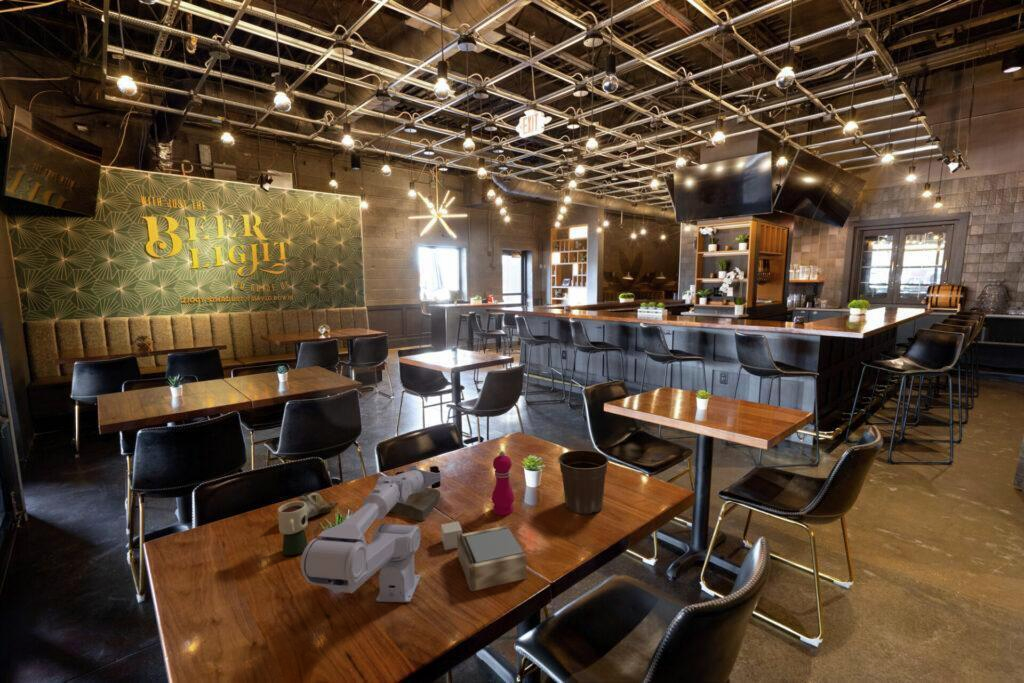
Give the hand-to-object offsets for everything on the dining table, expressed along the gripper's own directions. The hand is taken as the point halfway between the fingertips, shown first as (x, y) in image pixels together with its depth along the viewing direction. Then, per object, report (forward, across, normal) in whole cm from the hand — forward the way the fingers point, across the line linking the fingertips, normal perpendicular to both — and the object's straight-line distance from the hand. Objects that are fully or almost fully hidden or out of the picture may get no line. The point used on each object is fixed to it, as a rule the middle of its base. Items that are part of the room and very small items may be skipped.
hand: (426, 476), depth 126 cm
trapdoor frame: (-4, -17, +24) cm, 30 cm away
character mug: (-4, +39, +14) cm, 41 cm away
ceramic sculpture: (+13, +45, +8) cm, 48 cm away
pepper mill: (+24, -15, +16) cm, 33 cm away
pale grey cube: (+4, -3, +20) cm, 20 cm away
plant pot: (+30, -41, +19) cm, 54 cm away
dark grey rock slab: (+23, +14, +11) cm, 29 cm away
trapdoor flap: (-5, -18, +20) cm, 27 cm away
